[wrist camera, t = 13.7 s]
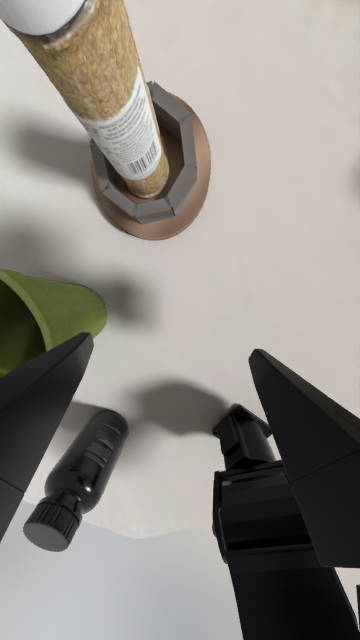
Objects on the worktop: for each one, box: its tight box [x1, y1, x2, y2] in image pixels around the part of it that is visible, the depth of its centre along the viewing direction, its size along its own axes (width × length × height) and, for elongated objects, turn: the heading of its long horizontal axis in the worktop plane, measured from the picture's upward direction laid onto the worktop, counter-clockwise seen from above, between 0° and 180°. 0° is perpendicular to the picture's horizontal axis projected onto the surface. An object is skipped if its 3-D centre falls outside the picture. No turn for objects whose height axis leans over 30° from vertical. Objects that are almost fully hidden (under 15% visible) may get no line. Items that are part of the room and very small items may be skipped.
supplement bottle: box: [23, 411, 128, 552], centre depth 21 cm, size 7×7×12 cm
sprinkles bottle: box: [0, 0, 169, 199], centre depth 9 cm, size 5×5×13 cm
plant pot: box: [0, 269, 107, 377], centre depth 17 cm, size 12×12×11 cm
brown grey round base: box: [90, 81, 211, 240], centre depth 15 cm, size 12×12×4 cm
